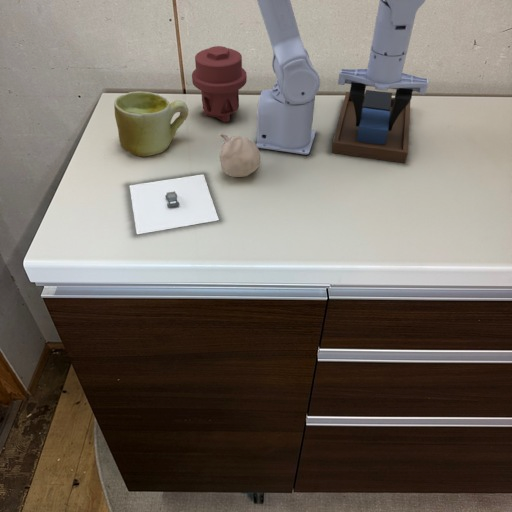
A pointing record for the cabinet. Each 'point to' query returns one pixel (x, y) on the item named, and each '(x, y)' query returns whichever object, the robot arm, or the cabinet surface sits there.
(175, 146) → the cabinet surface
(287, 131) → the robot arm
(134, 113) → the mug
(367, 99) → the charcoal block
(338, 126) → the tray
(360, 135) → the blue block
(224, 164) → the garlic bulb
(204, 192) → the white paper sheet
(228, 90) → the mechanical component
